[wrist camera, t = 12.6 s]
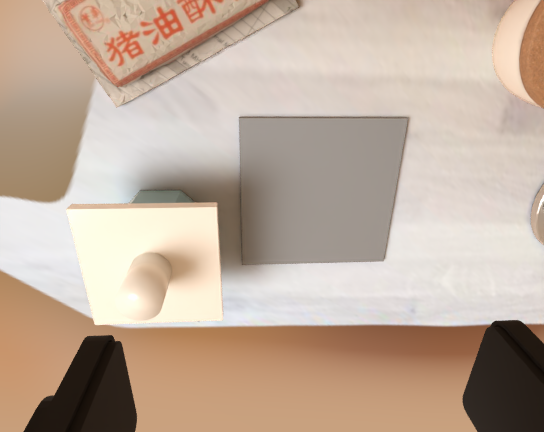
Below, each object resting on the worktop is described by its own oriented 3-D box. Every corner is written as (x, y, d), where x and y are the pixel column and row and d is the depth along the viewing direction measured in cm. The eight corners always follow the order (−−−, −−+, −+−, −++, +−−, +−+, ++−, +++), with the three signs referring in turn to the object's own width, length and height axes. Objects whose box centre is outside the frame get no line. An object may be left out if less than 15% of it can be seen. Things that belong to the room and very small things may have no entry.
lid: (217, 202, 32) (212, 233, 27) (223, 313, 37) (220, 356, 32) (71, 204, 31) (38, 236, 26) (98, 317, 36) (75, 362, 31)
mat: (406, 117, 36) (408, 118, 35) (382, 259, 42) (383, 261, 42) (239, 117, 34) (239, 118, 34) (242, 262, 41) (242, 264, 41)
